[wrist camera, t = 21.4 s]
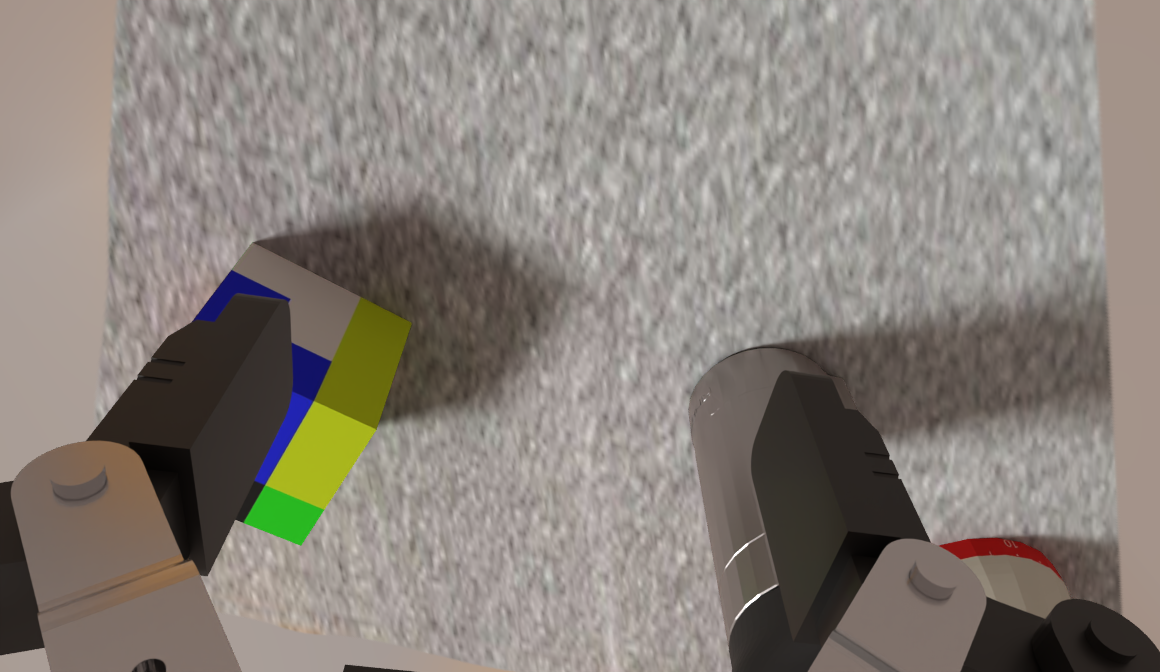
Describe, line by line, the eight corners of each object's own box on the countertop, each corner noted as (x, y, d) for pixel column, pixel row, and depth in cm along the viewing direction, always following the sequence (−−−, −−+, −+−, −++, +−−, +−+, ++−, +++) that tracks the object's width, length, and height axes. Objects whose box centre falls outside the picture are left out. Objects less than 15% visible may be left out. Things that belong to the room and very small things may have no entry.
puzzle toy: (252, 241, 45) (178, 339, 37) (412, 322, 48) (376, 429, 40) (197, 362, 50) (119, 473, 42) (345, 429, 53) (300, 545, 45)
